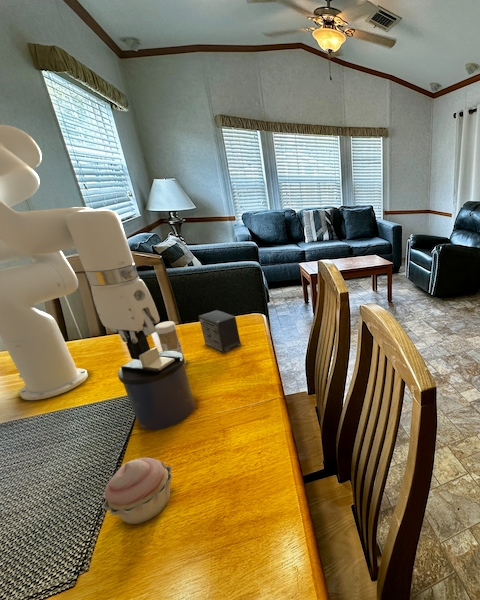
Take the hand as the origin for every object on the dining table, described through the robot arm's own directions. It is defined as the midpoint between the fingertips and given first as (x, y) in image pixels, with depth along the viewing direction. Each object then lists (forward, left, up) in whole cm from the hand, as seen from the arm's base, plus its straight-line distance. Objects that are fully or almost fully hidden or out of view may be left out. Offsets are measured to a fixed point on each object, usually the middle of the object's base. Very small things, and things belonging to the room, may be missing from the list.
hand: (141, 356), depth 71 cm
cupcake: (+18, -20, -15) cm, 31 cm away
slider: (+4, 0, -2) cm, 4 cm away
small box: (-7, +30, -15) cm, 34 cm away
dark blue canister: (+2, 0, -15) cm, 15 cm away
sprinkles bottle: (-12, +17, -15) cm, 26 cm away
